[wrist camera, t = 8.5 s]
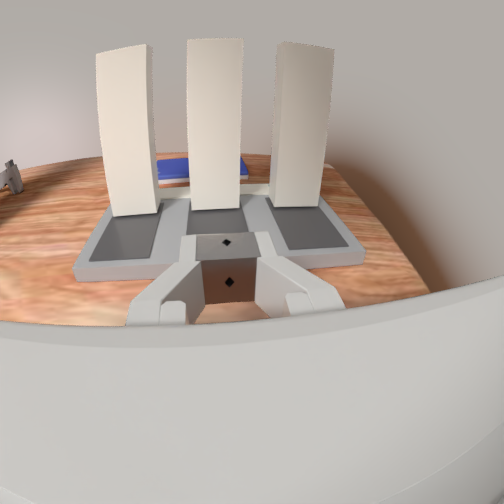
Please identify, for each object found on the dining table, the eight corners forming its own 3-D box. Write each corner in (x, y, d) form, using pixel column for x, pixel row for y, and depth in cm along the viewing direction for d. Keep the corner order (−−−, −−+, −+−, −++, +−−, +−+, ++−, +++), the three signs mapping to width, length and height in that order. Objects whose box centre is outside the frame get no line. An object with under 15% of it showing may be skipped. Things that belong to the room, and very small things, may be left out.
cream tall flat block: (239, 208, 23) (243, 38, 15) (191, 210, 23) (187, 39, 15) (236, 196, 25) (240, 43, 17) (192, 198, 25) (189, 44, 17)
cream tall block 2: (317, 206, 24) (334, 49, 16) (274, 207, 24) (284, 41, 16) (309, 195, 26) (322, 51, 18) (268, 195, 26) (277, 45, 18)
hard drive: (147, 177, 31) (248, 171, 33) (157, 159, 38) (240, 154, 40) (149, 189, 32) (248, 183, 34) (158, 169, 39) (240, 164, 41)
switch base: (362, 264, 20) (367, 248, 19) (77, 282, 17) (70, 266, 16) (308, 194, 30) (310, 182, 29) (119, 203, 27) (117, 191, 27)
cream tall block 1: (156, 212, 22) (146, 43, 14) (113, 216, 22) (96, 54, 14) (160, 201, 24) (152, 47, 16) (120, 204, 24) (106, 56, 16)
